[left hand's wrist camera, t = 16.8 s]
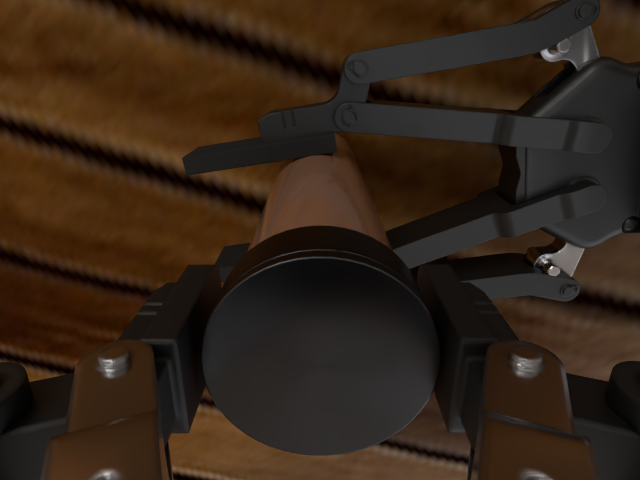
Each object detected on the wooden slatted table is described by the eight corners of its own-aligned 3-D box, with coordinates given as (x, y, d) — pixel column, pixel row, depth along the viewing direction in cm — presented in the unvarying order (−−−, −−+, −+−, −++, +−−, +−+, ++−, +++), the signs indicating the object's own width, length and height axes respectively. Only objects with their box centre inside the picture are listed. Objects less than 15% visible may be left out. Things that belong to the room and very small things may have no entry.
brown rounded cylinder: (267, 165, 27) (174, 346, 10) (321, 113, 26) (326, 212, 8) (317, 216, 28) (315, 458, 11) (371, 168, 27) (465, 354, 10)
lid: (293, 427, 12) (288, 487, 10) (175, 292, 10) (149, 336, 9) (457, 345, 11) (482, 395, 9) (355, 182, 9) (362, 207, 8)
